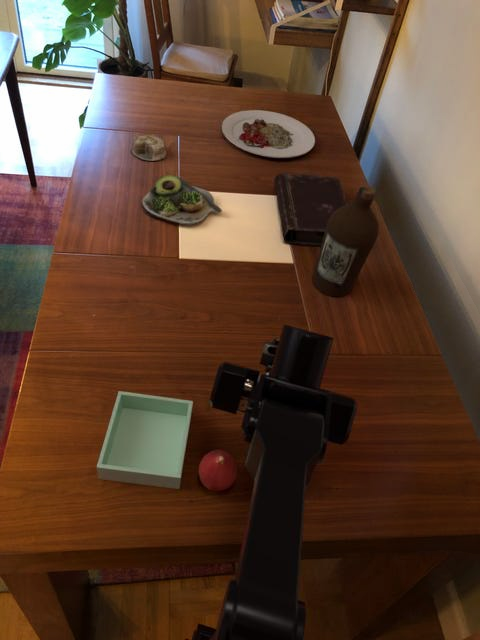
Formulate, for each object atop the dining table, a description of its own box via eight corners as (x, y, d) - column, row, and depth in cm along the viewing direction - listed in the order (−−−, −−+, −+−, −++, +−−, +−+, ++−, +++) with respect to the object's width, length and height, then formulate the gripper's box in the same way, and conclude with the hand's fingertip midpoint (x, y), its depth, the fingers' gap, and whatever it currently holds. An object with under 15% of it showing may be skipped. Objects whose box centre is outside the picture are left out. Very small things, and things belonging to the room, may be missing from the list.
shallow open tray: (179, 491, 73) (180, 477, 69) (99, 481, 72) (96, 467, 68) (191, 416, 82) (193, 400, 78) (120, 406, 81) (118, 390, 77)
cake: (138, 142, 141) (138, 124, 137) (170, 150, 140) (172, 133, 137) (126, 156, 133) (126, 137, 130) (160, 164, 133) (161, 146, 129)
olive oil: (323, 261, 114) (355, 167, 96) (362, 282, 111) (403, 190, 93) (300, 283, 108) (330, 187, 90) (341, 306, 105) (381, 212, 86)
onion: (194, 466, 76) (197, 442, 70) (229, 460, 77) (235, 436, 71) (200, 502, 72) (205, 480, 66) (237, 495, 73) (244, 472, 68)
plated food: (323, 132, 160) (326, 123, 158) (298, 173, 141) (301, 162, 138) (241, 107, 165) (242, 97, 162) (206, 143, 145) (207, 132, 143)
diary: (281, 243, 117) (285, 227, 113) (272, 187, 133) (276, 171, 130) (354, 250, 119) (360, 234, 115) (336, 193, 136) (342, 177, 132)
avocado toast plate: (232, 201, 126) (234, 185, 123) (205, 237, 114) (207, 222, 111) (166, 178, 129) (166, 163, 126) (133, 212, 117) (133, 196, 114)
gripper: (380, 369, 55) (356, 357, 70) (225, 326, 56) (235, 323, 72) (354, 461, 55) (336, 429, 71) (200, 416, 56) (216, 394, 72)
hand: (281, 392), depth 71 cm, fingers closed on water bottle, 6 cm apart
